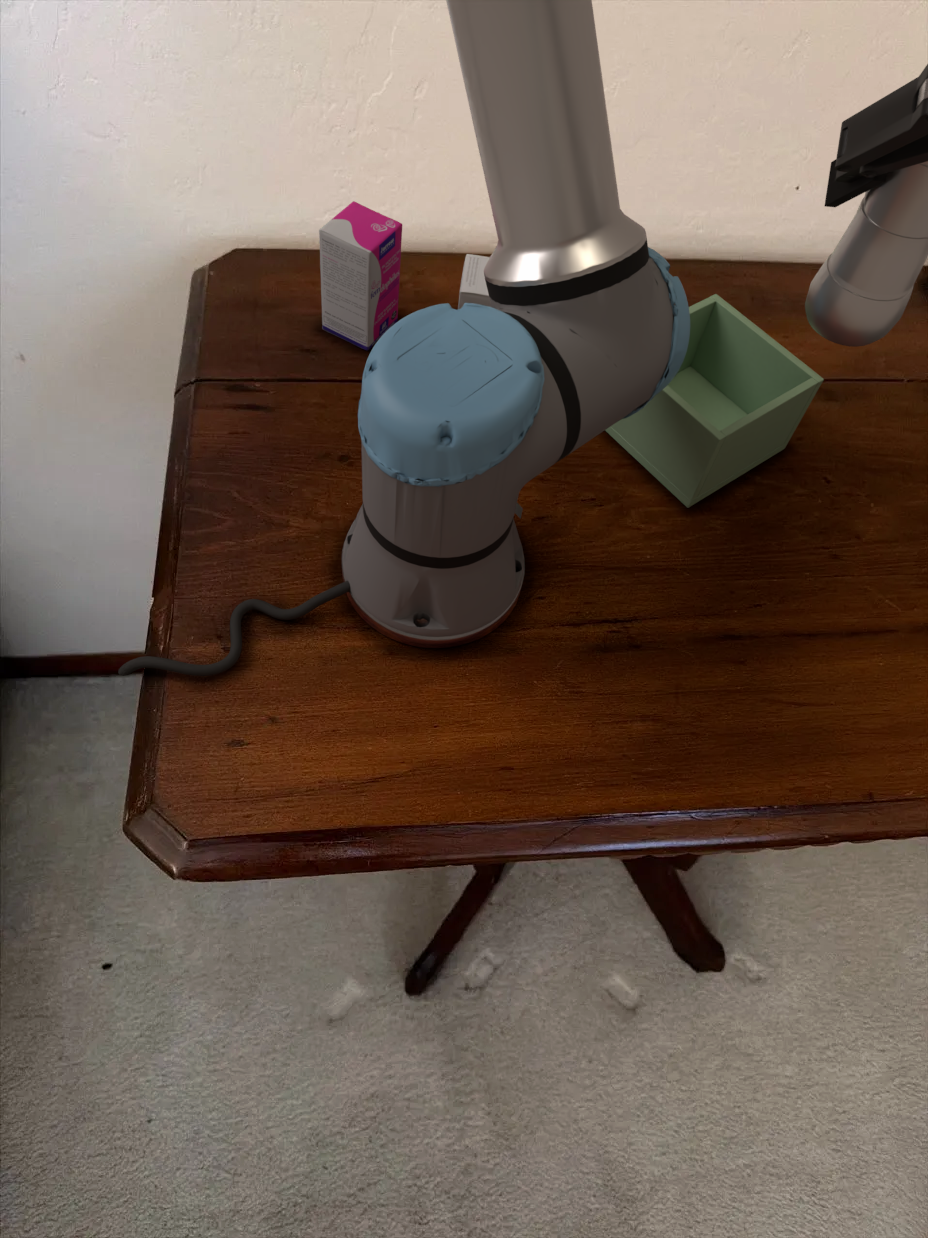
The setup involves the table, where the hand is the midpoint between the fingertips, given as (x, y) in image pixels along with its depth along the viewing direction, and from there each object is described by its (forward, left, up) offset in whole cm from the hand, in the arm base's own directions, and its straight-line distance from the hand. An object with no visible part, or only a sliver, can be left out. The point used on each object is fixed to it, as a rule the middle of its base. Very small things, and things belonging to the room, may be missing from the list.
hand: (884, 189), depth 58 cm
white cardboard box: (-8, +28, -29) cm, 42 cm away
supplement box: (-18, +36, -29) cm, 50 cm away
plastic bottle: (-2, -3, -9) cm, 9 cm away
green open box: (+1, +7, -29) cm, 30 cm away
